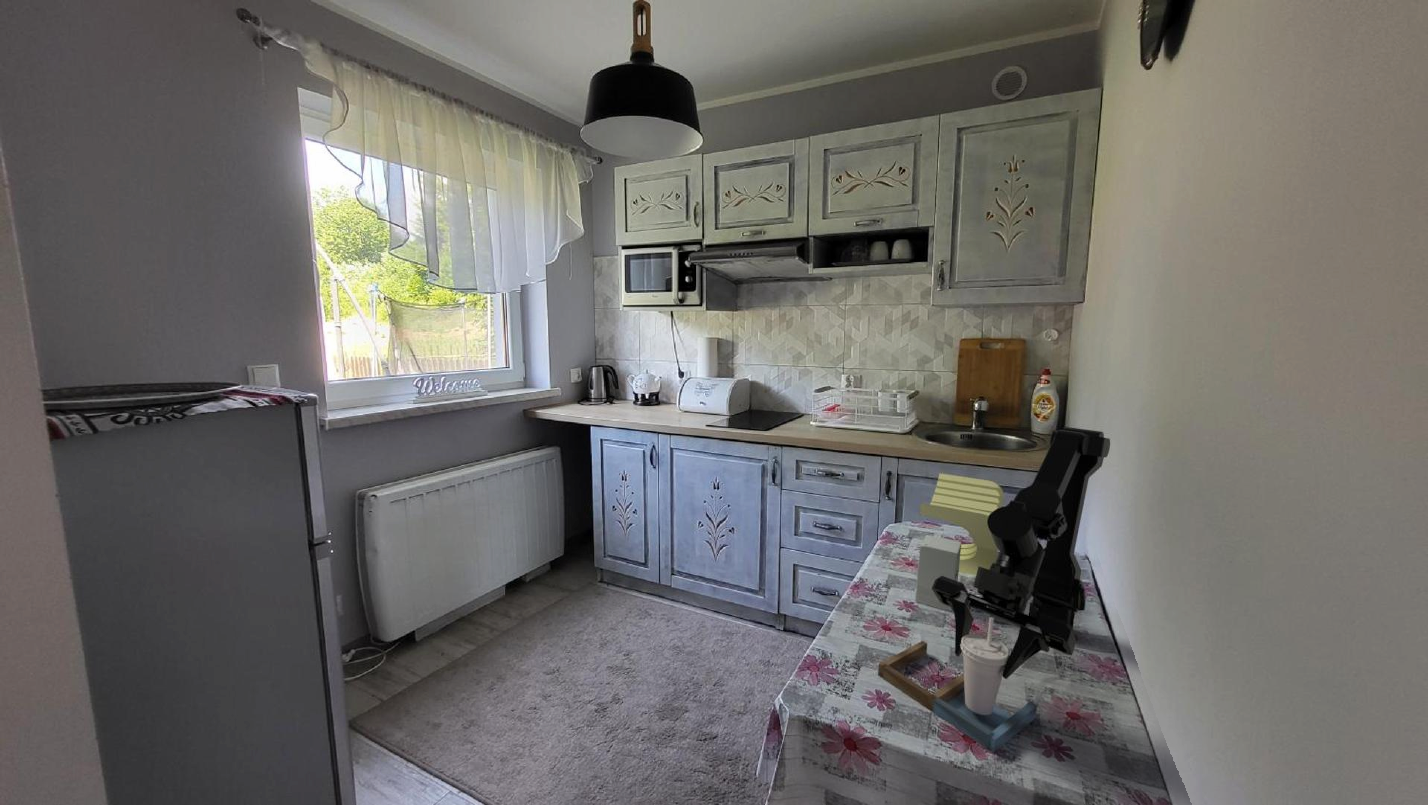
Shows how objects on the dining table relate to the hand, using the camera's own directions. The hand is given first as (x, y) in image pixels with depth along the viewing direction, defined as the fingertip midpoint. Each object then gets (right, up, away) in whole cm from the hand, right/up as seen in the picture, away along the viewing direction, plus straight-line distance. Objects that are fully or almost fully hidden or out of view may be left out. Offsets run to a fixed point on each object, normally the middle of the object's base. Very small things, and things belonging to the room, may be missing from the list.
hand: (979, 666), depth 75 cm
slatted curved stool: (+23, -2, +55) cm, 59 cm away
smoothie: (+1, -7, +2) cm, 7 cm away
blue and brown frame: (-2, -8, +6) cm, 10 cm away
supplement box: (+9, -4, +36) cm, 37 cm away
